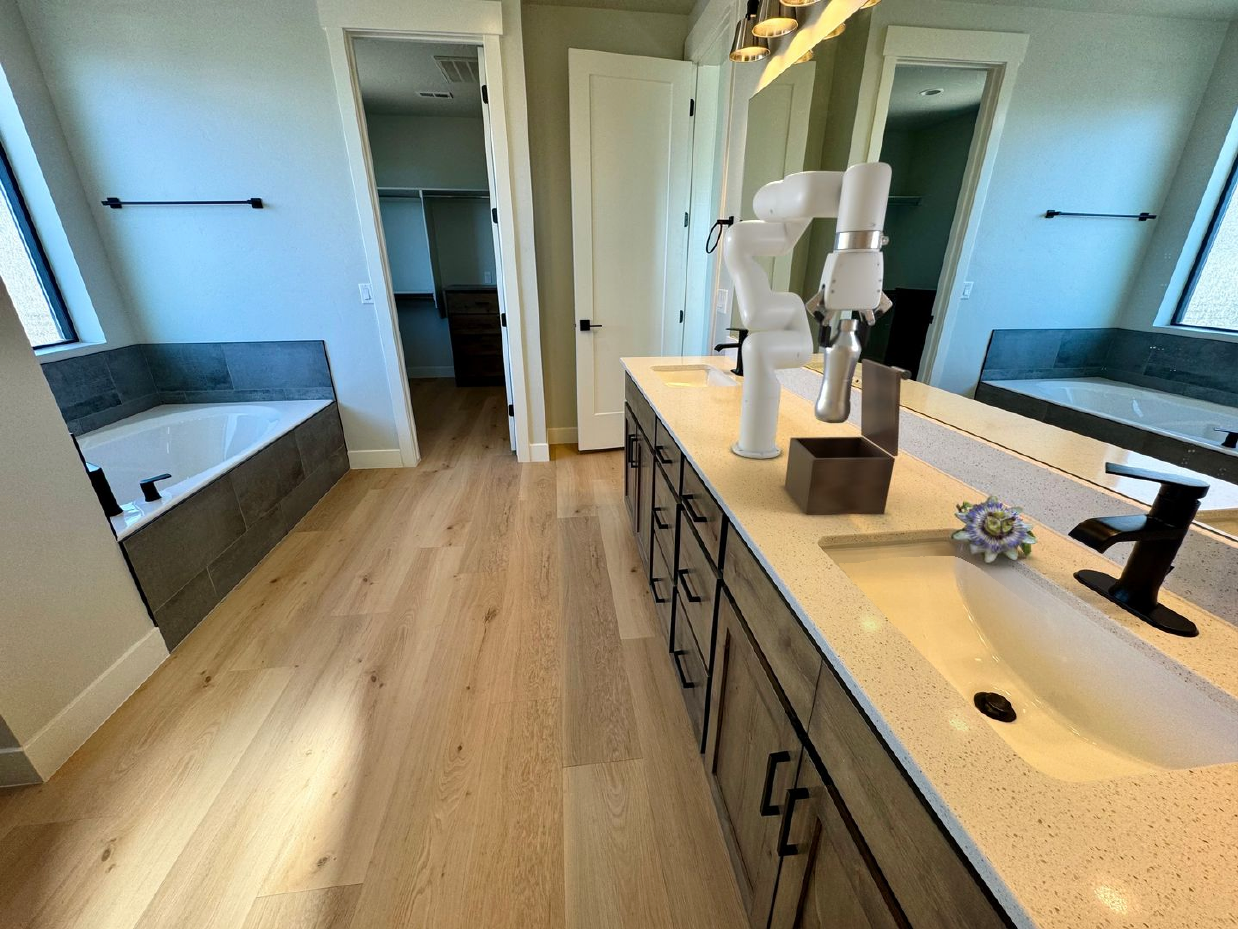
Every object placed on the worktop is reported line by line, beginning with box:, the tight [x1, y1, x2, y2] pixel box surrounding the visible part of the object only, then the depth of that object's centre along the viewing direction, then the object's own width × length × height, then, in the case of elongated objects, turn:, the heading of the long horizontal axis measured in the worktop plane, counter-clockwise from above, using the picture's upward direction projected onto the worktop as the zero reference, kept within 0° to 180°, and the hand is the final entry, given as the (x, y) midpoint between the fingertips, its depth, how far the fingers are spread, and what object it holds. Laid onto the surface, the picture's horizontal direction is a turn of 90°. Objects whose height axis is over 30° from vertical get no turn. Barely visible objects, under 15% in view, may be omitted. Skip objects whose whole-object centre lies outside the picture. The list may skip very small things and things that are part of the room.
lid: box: [860, 358, 912, 457], centre depth 97 cm, size 16×14×5 cm
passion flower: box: [950, 493, 1038, 564], centre depth 83 cm, size 11×11×12 cm
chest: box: [784, 436, 896, 516], centre depth 102 cm, size 16×14×12 cm
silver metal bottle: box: [813, 318, 862, 424], centre depth 96 cm, size 6×7×20 cm
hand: (842, 345), depth 94 cm, fingers closed on silver metal bottle, 6 cm apart
